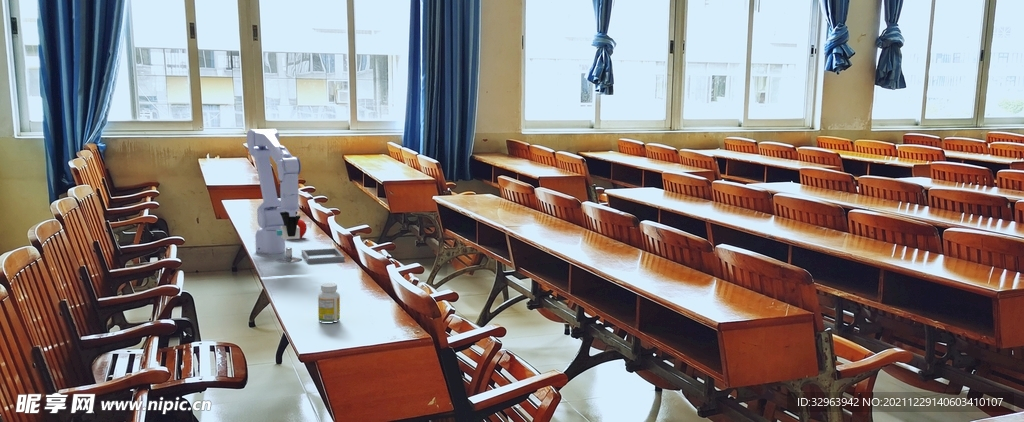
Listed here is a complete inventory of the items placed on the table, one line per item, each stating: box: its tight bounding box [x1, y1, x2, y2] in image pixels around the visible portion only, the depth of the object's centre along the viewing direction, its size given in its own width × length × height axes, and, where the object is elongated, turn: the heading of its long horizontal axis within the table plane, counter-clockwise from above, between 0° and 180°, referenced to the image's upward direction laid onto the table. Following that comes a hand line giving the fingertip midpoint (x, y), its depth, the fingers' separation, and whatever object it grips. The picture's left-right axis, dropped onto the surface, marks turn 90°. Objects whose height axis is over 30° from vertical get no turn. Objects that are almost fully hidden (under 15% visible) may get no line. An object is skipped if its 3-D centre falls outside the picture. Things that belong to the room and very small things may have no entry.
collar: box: [277, 225, 301, 240], centre depth 273 cm, size 5×7×4 cm
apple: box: [297, 218, 307, 239], centre depth 315 cm, size 8×8×7 cm
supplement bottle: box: [317, 282, 341, 322], centre depth 211 cm, size 5×5×10 cm
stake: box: [275, 247, 303, 264], centre depth 275 cm, size 8×8×5 cm
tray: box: [301, 247, 346, 265], centre depth 279 cm, size 14×12×2 cm
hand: (290, 234), depth 274 cm, fingers closed on collar, 5 cm apart
